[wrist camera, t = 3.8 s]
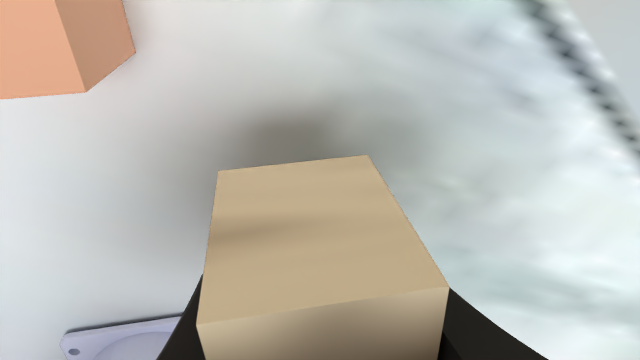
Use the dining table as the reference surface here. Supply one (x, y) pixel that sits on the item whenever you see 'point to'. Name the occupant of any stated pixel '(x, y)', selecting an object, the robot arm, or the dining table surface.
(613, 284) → the dining table surface
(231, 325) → the beech brick
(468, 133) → the dining table surface
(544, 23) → the dining table surface
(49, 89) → the terracotta brick
